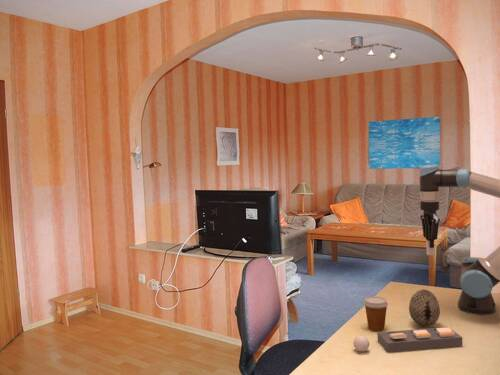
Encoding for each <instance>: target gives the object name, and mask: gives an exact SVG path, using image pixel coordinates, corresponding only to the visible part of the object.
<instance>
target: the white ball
mask: <svg viewBox="0 0 500 375" xmlns="http://www.w3.org/2000/svg"><path fill="white" fill-rule="evenodd" d="M353 347H354V348H355V350H356V351H358V352H361V353H362V352H365V351H367V350H368V349H369V347H370V341H369V339H368V338H367V337H366V336H364V335H357V336H356V337H355V338H354V339H353Z"/></svg>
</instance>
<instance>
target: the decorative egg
mask: <svg viewBox="0 0 500 375" xmlns="http://www.w3.org/2000/svg"><path fill="white" fill-rule="evenodd" d="M408 310H409V316H410V318H411V320H412V321H413V322H414V323H415V324H416V325H418V326H420V327H427V328H428V327H431V326H434V325H435V324H436V323H437V321H438V320H439V317H440V314H441V311H440V310H441V308H440V304H439V301H438V298H437V296H435V294H434V293H433V292H432V291H430V290H428V289H419V290H417V291H415V293H413V295H412V296H411V298H410V300H409V307H408Z"/></svg>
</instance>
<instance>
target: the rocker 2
mask: <svg viewBox="0 0 500 375" xmlns="http://www.w3.org/2000/svg"><path fill="white" fill-rule="evenodd" d="M446 327H447V328H440V327H435V328H436V332H437V333H438V334H439V335H440V336H441V337H449V336H454V335H455V334H454V332H455V331H454V330H453V329H452V330H453V331H454V332H453V331H452V330H451V328H450V327H449V326H446Z"/></svg>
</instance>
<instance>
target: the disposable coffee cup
mask: <svg viewBox="0 0 500 375" xmlns="http://www.w3.org/2000/svg"><path fill="white" fill-rule="evenodd" d="M388 304H389V302H388V301H387V299H386V298H384V297H383V296H374V295H373V296H368V297H365V299H364V301H363V305H364V307H365V308H364V309H365V314H366V321H367V326H368V330H370V331H373V332H384V330H385V327H386V326H385V325H386V316H387V308H388Z"/></svg>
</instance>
